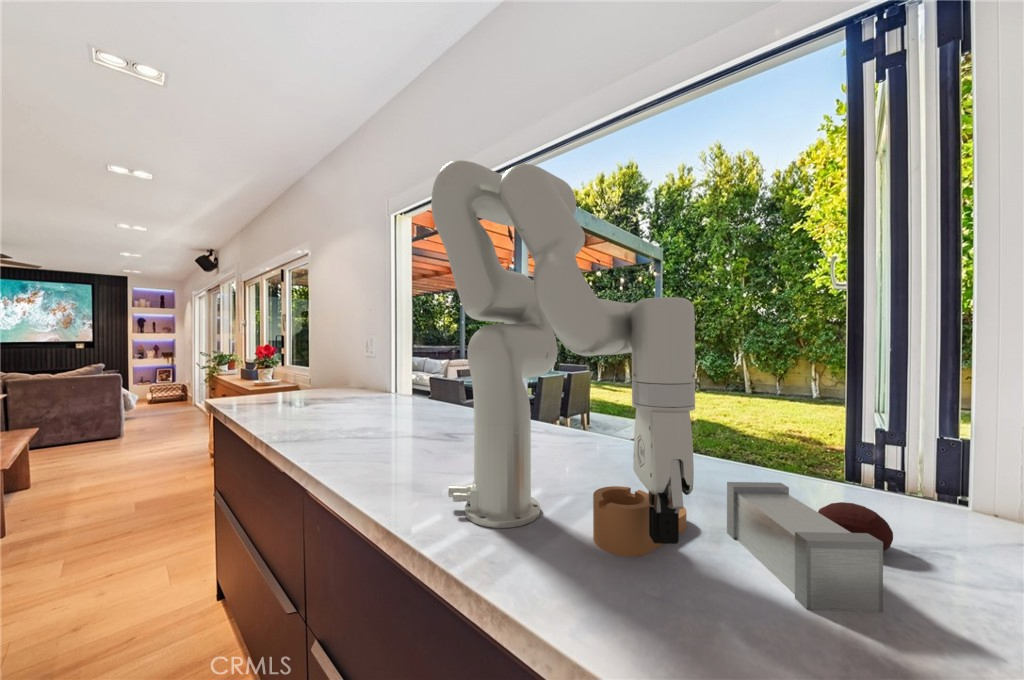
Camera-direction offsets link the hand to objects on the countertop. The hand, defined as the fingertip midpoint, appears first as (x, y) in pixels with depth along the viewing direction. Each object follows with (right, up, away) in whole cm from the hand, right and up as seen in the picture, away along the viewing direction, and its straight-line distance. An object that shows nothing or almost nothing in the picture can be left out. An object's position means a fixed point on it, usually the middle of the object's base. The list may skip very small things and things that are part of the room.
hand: (663, 540), depth 53 cm
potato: (+29, -4, +6) cm, 30 cm away
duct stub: (+16, -4, 0) cm, 17 cm away
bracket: (0, -4, +10) cm, 11 cm away
